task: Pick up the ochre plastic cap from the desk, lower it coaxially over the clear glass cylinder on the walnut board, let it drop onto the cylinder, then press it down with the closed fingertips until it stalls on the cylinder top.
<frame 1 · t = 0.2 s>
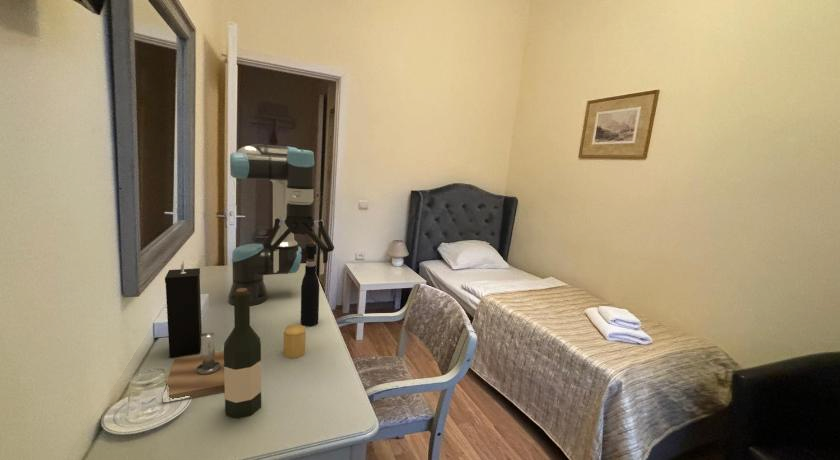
hand: (299, 272, 109), 26 cm above the table, fingers open, 13 cm apart
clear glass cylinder: (208, 369, 97), resting on walnut board
black pillar candle: (186, 350, 109), on the table
walnut board: (209, 375, 98), on the table
ochre cap: (294, 352, 113), on the table
labelled green bottle: (243, 407, 87), on the table
wine bottle: (309, 323, 134), on the table
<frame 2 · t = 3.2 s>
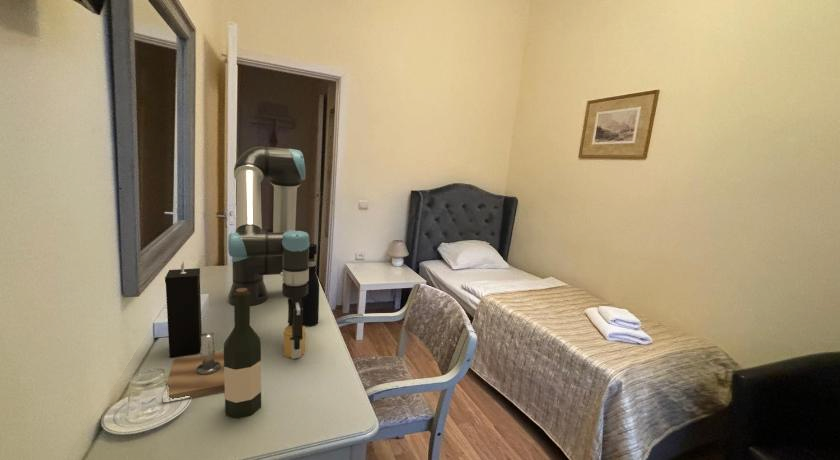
hand: (294, 351, 112), 0 cm above the table, fingers closed on ochre cap, 6 cm apart
ochre cap: (294, 352, 112), on the table, touching gripper
everything else where it was.
when the fingers open (6 cm above the table, at t = 10.4 s): ochre cap drops 1 cm, resting on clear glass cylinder.
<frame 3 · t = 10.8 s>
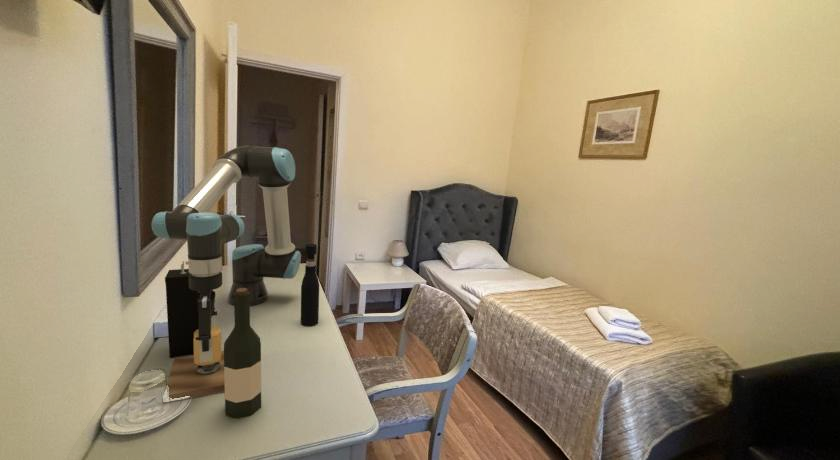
hand: (208, 349, 96), 8 cm above the table, fingers open, 12 cm apart
ochre cap: (208, 358, 97), point 5 cm above the table, touching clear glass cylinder
everything else where it was.
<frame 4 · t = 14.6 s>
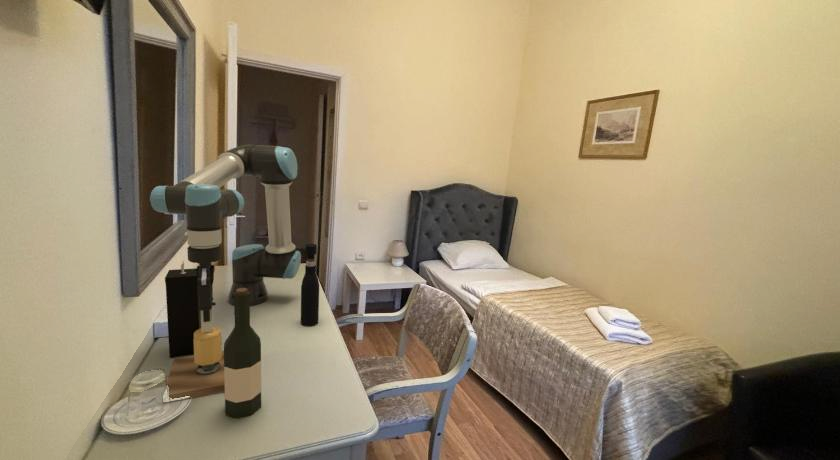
hand: (207, 330, 95), 13 cm above the table, fingers closed
ochre cap: (208, 358, 97), point 5 cm above the table, touching gripper, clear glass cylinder
everything else where it was.
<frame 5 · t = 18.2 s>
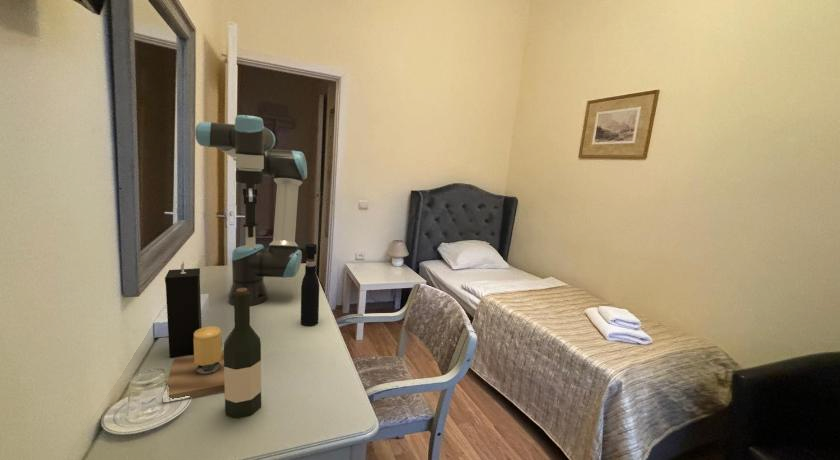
hand: (250, 246, 110), 32 cm above the table, fingers closed
ochre cap: (208, 358, 97), point 5 cm above the table, touching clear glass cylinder
everything else where it was.
at the end: ochre cap 0.1 cm off-centre on the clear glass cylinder, point 3.0 cm above the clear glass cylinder's base; ochre cap tilted 0°; the gripper is holding nothing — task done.
